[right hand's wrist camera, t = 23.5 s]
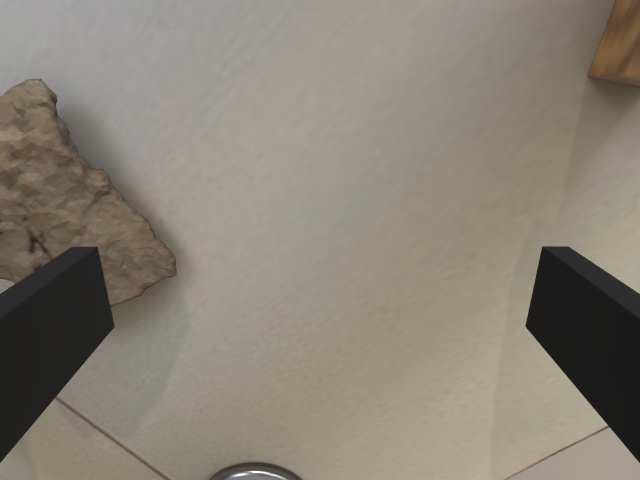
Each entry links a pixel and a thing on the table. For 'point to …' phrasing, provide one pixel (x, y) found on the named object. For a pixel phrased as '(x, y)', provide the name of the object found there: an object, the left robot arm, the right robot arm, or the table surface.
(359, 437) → the table surface
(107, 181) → the stone
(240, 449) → the table surface
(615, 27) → the bar
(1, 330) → the right robot arm
